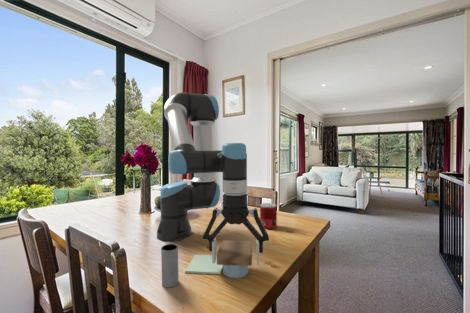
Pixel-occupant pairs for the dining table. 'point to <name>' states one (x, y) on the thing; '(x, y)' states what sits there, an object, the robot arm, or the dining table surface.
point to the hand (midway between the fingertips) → (236, 262)
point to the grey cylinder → (169, 265)
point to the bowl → (235, 271)
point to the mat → (204, 265)
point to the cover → (235, 253)
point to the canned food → (268, 215)
